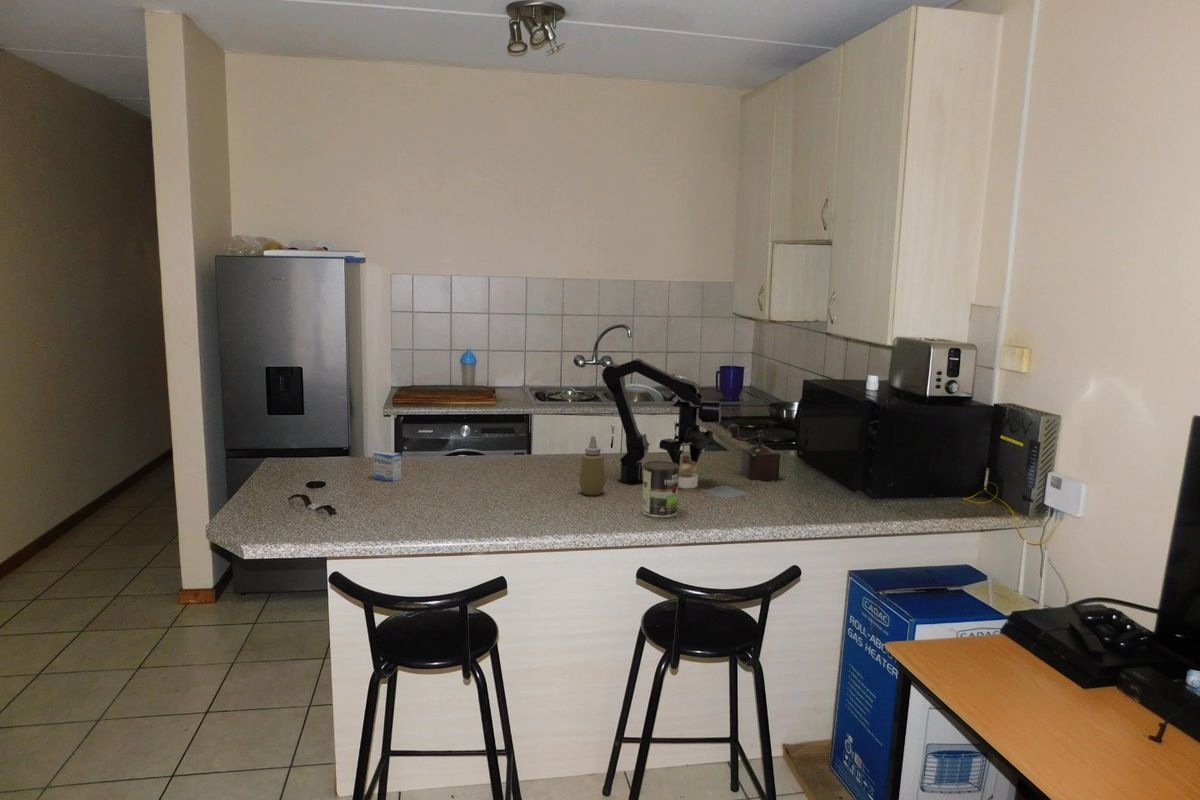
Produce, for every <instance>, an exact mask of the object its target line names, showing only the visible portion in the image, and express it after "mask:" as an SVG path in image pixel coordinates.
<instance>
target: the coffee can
mask: <svg viewBox="0 0 1200 800" xmlns="http://www.w3.org/2000/svg"><path fill="white" fill-rule="evenodd" d="M642 465H643V466H642V468H643V474H642V480H643V482H642V504H641V505H642V507H641V508H642V510H641V513H642V514H643V515H646V516H648V517H651V518H658V519H659V518H661V519H662V518H663V519H664V518H673V517H676V515H677V514H678V499H679V496H678V495H679V487H678V479H679V465H678V464H676V463H673V462H672V461H665V460H655V461H654V460H651V461H647V462H644V463H642Z"/></svg>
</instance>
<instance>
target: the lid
mask: <svg viewBox="0 0 1200 800" xmlns="http://www.w3.org/2000/svg"><path fill="white" fill-rule="evenodd" d="M696 472H697V464H696V462H695V461H691V456H688V455H683V456H682V459H680V466H679V473H685V474H690V473H695V474H696Z"/></svg>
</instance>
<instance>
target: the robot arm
mask: <svg viewBox="0 0 1200 800" xmlns="http://www.w3.org/2000/svg"><path fill="white" fill-rule="evenodd" d="M634 373H638V374H639V375H641V376H643V377H646V378H647V379H650V380H652V381H653V382H655V383H657V384H659V385H662V386H664V387H665V388H668V389H669V390H670V391H671V392H672V393H673V394H674V395H675V396H677V397H678V399H677V400H676V402H674V403H672V406H673V407H676V408H678V422H677V423H675V427H677V429H678V430H677V435H675V436H674V437H675V438H674V439H672V438H664V439H661V440H660V441H659V445H658V446H659V449H661V450H664V451H667V453H668V455H669V458H670V459H671V462H673V463H676V464H678V465H679V466H680V460H681V455H682V454H683V453H684V450H683V449H682V450H681V447H684V446H685V447H686V446H689V453H690V456H689V457H690V460H691V461H695V462H696V465H697V463H698V461H699V459H700V456H701V454H702V452H703V451H704V450H706V449H708V447H709V446H713V445H714V434H713V433H714V432H712V431H711V430H706V431H701V428H700V427H701V426H700V424H697V422H698V419H699V421H701V423H711V424H721V417H722V410H721V401H718V400H717V401H709V400H708V401H707V400H706V401H705V399H704V397H703V395H701V392H700V388H699V384H698V383H697V382H695V381H693V380H690V379H686V378H683V377H678V376H674V375H672V374H671V373H669V372H666V371H664V370H662V369H660V368H658V367H656V366H654V365H651V364H650V363H648V362H646V361H644V360H642V359H641V358H635V359H633V360H630V361H627V362H625V363H621V364H618V363H612V364H610V365H608V366H606V367H605V368H603V370H602V372H601V377H602V380H603V382H604V383H605V386H606V388H607V389H608V390H609V391H610V393H611V394H612V397H613V399H614V403H615V405H616V408H617V412H618V415H619V418H620V421H621V424H622V428H623V430H624V434H625V447H626V448H625V449H626V453H625V454H624V455H623V456H622V457H621V458H620V478H617V481H618V480H619V482H622V483H624V484H627V485H635V484H641V483H643V466H642V465H643V463H642V462H641V461H642V460H643V459H644V458H645V457H646V456H647V455H648V452H649V446H650V443H649V441H648V439H647V433H644V434H642V433H641V432H640V431H639V429H638V425H637V421H636V419H635V416H634V413H633V410H632V407H631V404H630V400H629V398H628V393H627V392H626V379H625V376H628V375H631V374H634Z"/></svg>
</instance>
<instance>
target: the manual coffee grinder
mask: <svg viewBox="0 0 1200 800" xmlns="http://www.w3.org/2000/svg"><path fill="white" fill-rule="evenodd" d="M739 430H740V426H739V425H738V424H737V423H732V424H730V425H728V426H727V431H728V432H729V433H730V434H731V436H730V438H731V439H735V440H737V441H739V442H746V441H747V442H748V441H752V440H756V439H758V442H754V445H751V446H748V447H740V448H739V449H740V450H739V451H740V452H739V467H738V475H740V476H743V477H744V478H746V479H747V480H749V481H760V482H763V481H765V482H773V481H772V480H778V481H779V480H780V479H779V477H780V463H781V462H780V461H781V460H780V459H781V455H780V453H779V452H777V451H775V450H773V449H771V448H770V447H768V446H766V445H764V444H763V437H764V431H763V430H762V429H760V430H759V432H758V433H759V434H757V435H756V436H751V437H745V438H740V435H739Z"/></svg>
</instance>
